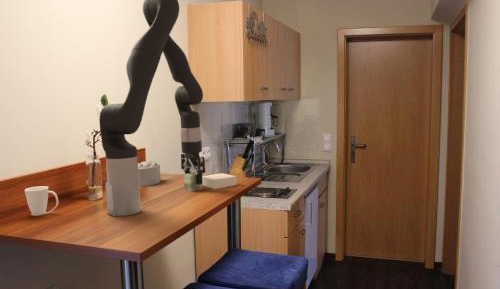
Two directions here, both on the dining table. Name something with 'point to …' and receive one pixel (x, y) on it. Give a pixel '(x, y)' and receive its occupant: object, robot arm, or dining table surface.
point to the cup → (39, 199)
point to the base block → (219, 180)
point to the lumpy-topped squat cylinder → (149, 173)
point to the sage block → (191, 182)
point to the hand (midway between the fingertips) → (193, 182)
